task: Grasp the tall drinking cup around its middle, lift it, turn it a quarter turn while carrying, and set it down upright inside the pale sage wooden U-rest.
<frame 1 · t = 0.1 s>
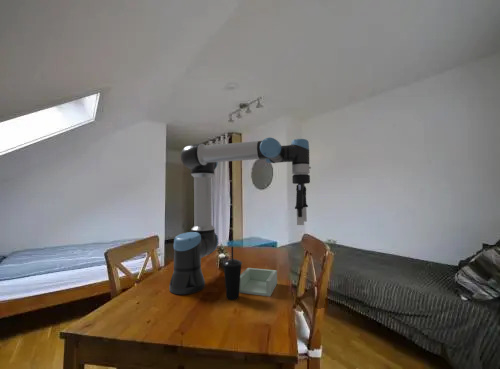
hand: (302, 223, 101), 28 cm above the table, fingers open, 13 cm apart
drinking cup: (232, 297, 92), on the table
u rest: (258, 287, 101), on the table
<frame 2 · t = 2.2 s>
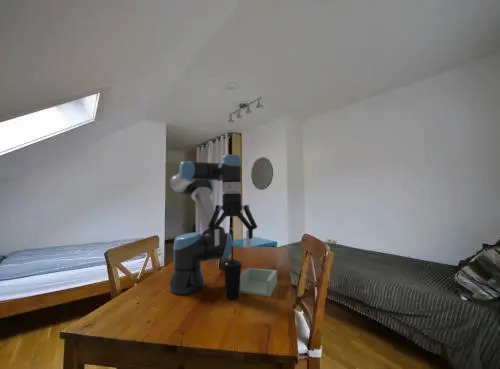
hand: (232, 246, 93), 20 cm above the table, fingers open, 13 cm apart
nothing on the table moved.
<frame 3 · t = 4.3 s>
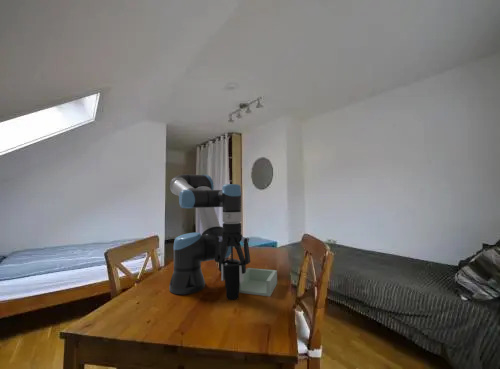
hand: (232, 280, 92), 7 cm above the table, fingers closed on drinking cup, 7 cm apart
drinking cup: (232, 297, 92), on the table, touching gripper
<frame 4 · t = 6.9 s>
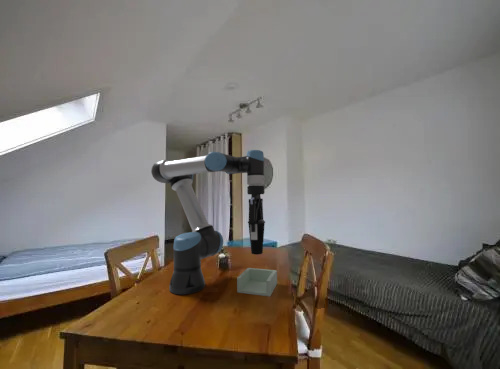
hand: (256, 237, 101), 22 cm above the table, fingers closed on drinking cup, 7 cm apart
drinking cup: (257, 253, 101), point 15 cm above the table, touching gripper
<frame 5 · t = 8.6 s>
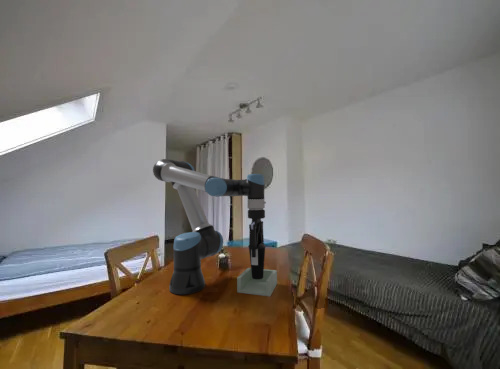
hand: (257, 262, 101), 11 cm above the table, fingers closed on drinking cup, 7 cm apart
drinking cup: (257, 278, 100), point 5 cm above the table, touching gripper
when the fingers open (9 cm above the table, at t = 9.9 s): drinking cup drops 1 cm, resting on u rest.
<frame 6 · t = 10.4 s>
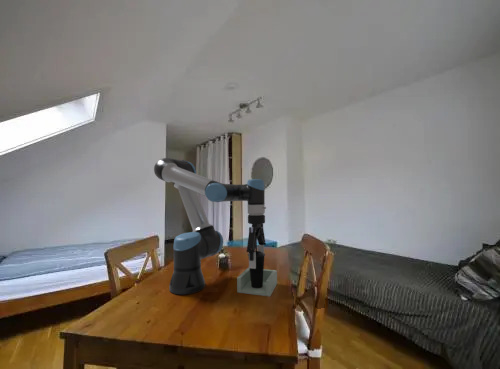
hand: (257, 263, 101), 11 cm above the table, fingers open, 13 cm apart
drinking cup: (257, 286, 100), point 1 cm above the table, touching u rest
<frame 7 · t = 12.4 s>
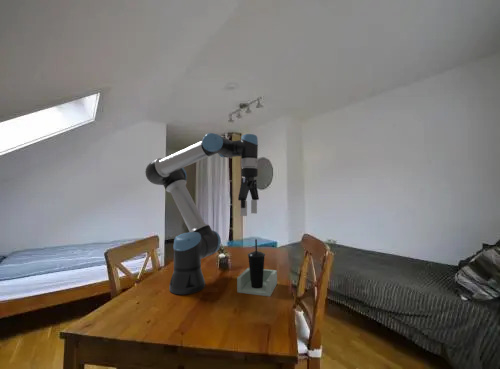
hand: (249, 214, 106), 32 cm above the table, fingers open, 13 cm apart
nothing on the table moved.
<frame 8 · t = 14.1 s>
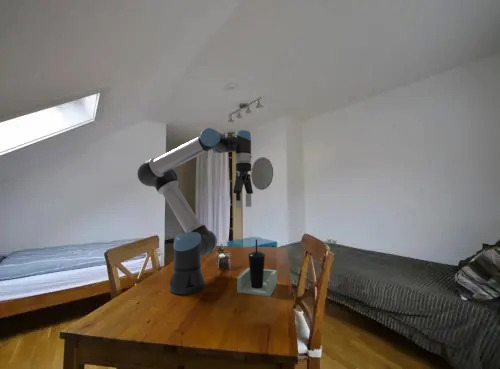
hand: (244, 207, 111), 35 cm above the table, fingers open, 13 cm apart
nothing on the table moved.
at the end: drinking cup inside the target area on the u rest (0.1 cm from its centre), point 0.8 cm above the u rest's base; drinking cup tilted 0°; the gripper is holding nothing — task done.
